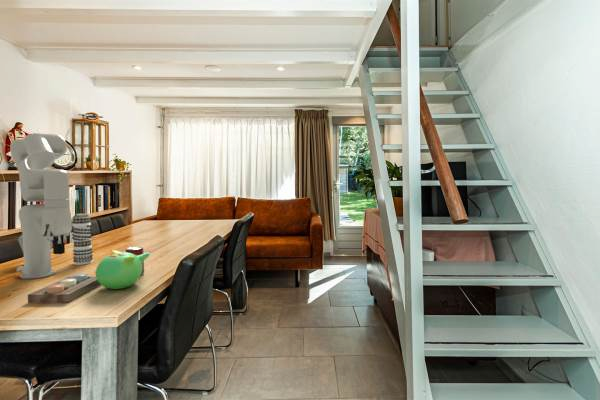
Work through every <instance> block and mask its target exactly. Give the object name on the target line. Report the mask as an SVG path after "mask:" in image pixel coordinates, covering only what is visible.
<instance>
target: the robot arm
mask: <svg viewBox="0 0 600 400" xmlns="http://www.w3.org/2000/svg"><path fill="white" fill-rule="evenodd" d="M9 148H10V149H9V152H10V154H11V155H10V156H11V159H12V160H13V162H14V165H15V166H16V169H17V171H18V178H19V186H20V188H19V189H20V193H21V194H20V195H21V199H22V200H23V201H25V202H31V203H32V202H34V203H35V202H44V203H38V204H33V203H32V204H27V205H23V206H21V207H20V209H19V211H18V218H19V223H20V227H21V235H23V250H22V252H23V251H24V252H23V265H19V266H18V267H17V268H16V271H17V272H21V274H20V275H19V277H20V279H23V280H32V279H42V278H46V277H50V276H53V275H55V274H56V269H52V258H51V257H52V255H51V251H50V240H51V242H52V254H54V255H63V254H65V253H66V249H65V248H66V247H65V245H66V244H65V243H66V241H67V237H68V236H69V235H70V234H71V233H72V232H71V230H73V229H72V223H73V218H72V213H71V209H70V206H71V205H70V204H71V203H70V177H69V172H68V171H66V170H64V169H60V168H58V169H57V168H49V167H51V166H52V165H53V164H54V163H55V162H56V160H59V159H60V158H61V157H62V156H64V155H65V154H66V152H67V148H68V147H67V141H66V139H65V138H64V137H63V136H62V135H60V134H51V133H50V134H49V133H38V132H36V133H29V134H27V135H26V136H25V137H24V138H22V139H20V138H19V139H14V140H12V141H11V142H10V145H9ZM41 277H42V278H41Z"/></svg>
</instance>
